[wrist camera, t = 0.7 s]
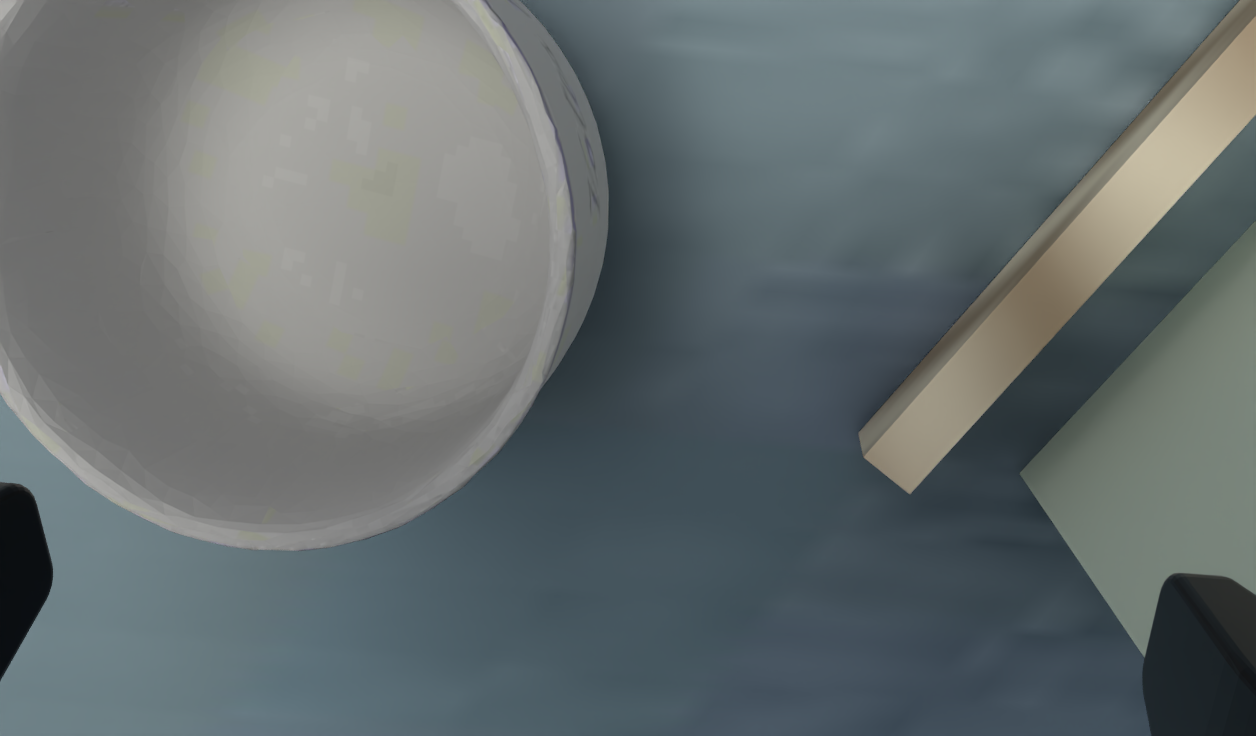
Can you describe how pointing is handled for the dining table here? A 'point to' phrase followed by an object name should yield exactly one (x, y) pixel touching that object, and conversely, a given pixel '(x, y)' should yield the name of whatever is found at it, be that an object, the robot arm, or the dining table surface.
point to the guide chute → (1070, 253)
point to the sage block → (1165, 452)
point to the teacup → (288, 251)
